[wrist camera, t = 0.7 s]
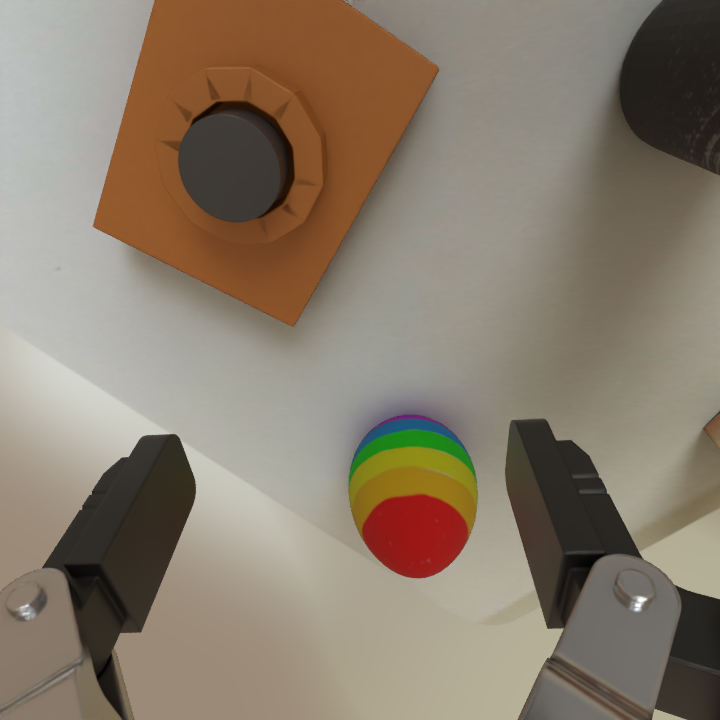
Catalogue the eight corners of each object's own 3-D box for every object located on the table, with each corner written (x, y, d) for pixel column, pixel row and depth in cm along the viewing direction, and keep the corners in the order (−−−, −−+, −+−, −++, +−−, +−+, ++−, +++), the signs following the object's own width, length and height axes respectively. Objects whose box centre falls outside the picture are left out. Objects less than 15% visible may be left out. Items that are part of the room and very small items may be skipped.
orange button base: (208, -90, 20) (163, -128, 16) (433, 66, 23) (446, 69, 18) (119, 210, 27) (70, 240, 22) (300, 303, 29) (287, 346, 25)
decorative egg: (489, 447, 35) (525, 575, 26) (402, 500, 38) (409, 629, 29) (416, 377, 32) (430, 495, 23) (327, 440, 35) (311, 565, 26)
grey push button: (214, 88, 19) (198, 91, 18) (305, 142, 20) (298, 151, 18) (181, 179, 21) (164, 190, 19) (266, 225, 22) (256, 240, 20)
